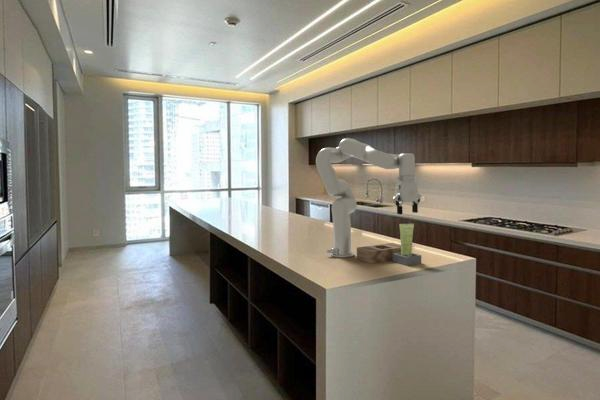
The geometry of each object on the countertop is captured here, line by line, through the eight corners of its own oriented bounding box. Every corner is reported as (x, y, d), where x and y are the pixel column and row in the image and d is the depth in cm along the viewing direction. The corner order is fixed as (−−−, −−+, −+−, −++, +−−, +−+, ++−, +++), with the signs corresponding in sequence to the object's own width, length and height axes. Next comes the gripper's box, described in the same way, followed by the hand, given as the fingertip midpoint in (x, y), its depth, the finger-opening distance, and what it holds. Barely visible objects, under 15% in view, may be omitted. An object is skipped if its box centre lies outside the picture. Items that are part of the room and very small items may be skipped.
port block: (370, 263, 188) (370, 251, 187) (356, 258, 198) (356, 247, 198) (407, 257, 198) (407, 246, 197) (392, 253, 209) (392, 242, 208)
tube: (404, 260, 193) (404, 222, 191) (413, 261, 189) (413, 223, 188) (399, 262, 189) (399, 223, 187) (408, 264, 185) (408, 224, 184)
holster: (406, 265, 182) (406, 257, 182) (392, 261, 191) (392, 253, 191) (421, 263, 186) (421, 255, 186) (406, 259, 195) (406, 251, 195)
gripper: (398, 179, 178) (398, 215, 179) (425, 178, 186) (426, 212, 187) (387, 179, 185) (388, 214, 186) (415, 178, 192) (415, 211, 194)
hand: (407, 213), depth 186 cm, fingers open, 9 cm apart
